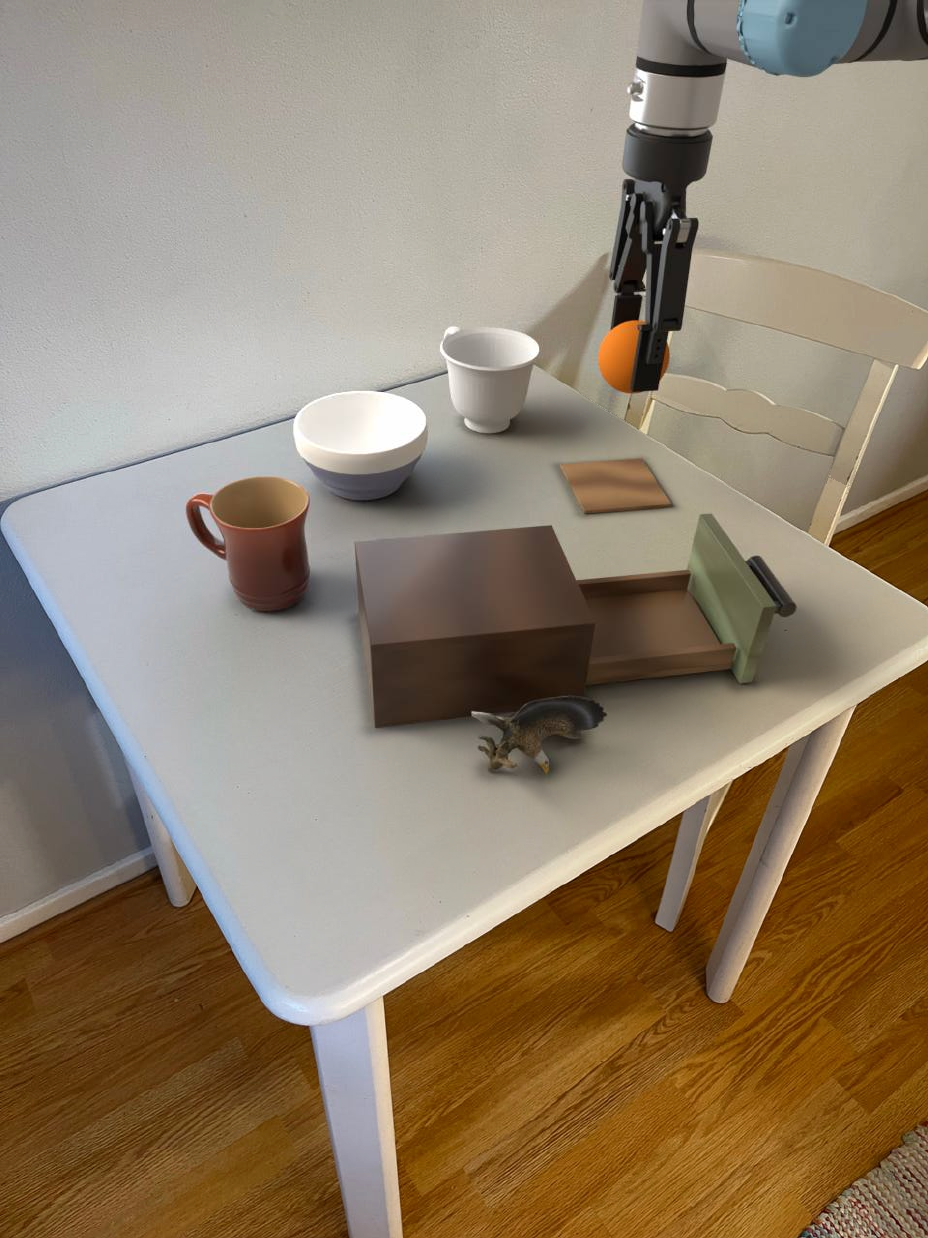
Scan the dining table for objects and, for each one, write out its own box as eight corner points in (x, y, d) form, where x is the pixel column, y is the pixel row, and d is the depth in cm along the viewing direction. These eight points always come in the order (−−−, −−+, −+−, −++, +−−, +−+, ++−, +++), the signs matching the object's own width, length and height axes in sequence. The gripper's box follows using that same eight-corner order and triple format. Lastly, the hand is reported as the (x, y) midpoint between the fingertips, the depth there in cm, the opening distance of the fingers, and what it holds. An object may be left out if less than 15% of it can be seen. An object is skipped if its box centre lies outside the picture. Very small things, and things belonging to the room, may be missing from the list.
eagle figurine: (537, 811, 66) (623, 740, 69) (494, 731, 63) (586, 662, 67) (486, 787, 72) (567, 723, 76) (446, 714, 70) (532, 652, 74)
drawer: (735, 582, 89) (755, 509, 83) (798, 677, 79) (826, 600, 73) (523, 603, 85) (529, 528, 80) (560, 704, 75) (570, 627, 70)
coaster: (671, 506, 99) (671, 503, 99) (584, 513, 98) (584, 510, 97) (641, 460, 107) (641, 457, 106) (560, 466, 105) (560, 463, 105)
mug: (333, 575, 88) (326, 486, 82) (293, 630, 82) (281, 538, 75) (225, 550, 91) (209, 462, 84) (178, 602, 85) (156, 510, 78)
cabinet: (543, 602, 86) (551, 524, 80) (583, 703, 76) (595, 622, 70) (359, 620, 83) (354, 541, 77) (374, 727, 73) (370, 645, 67)
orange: (673, 403, 92) (686, 335, 88) (606, 407, 91) (615, 339, 86) (649, 372, 98) (660, 307, 93) (586, 376, 97) (594, 310, 92)
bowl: (278, 505, 97) (271, 443, 93) (325, 441, 108) (321, 382, 103) (407, 526, 95) (406, 463, 90) (442, 458, 106) (442, 399, 101)
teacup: (482, 384, 121) (485, 311, 115) (554, 429, 112) (562, 352, 106) (408, 407, 116) (406, 332, 109) (477, 456, 107) (480, 377, 100)
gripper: (595, 101, 85) (570, 334, 100) (670, 156, 70) (627, 420, 85) (670, 101, 86) (634, 331, 101) (759, 154, 71) (702, 415, 86)
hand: (631, 372), depth 93 cm, fingers closed on orange, 7 cm apart
